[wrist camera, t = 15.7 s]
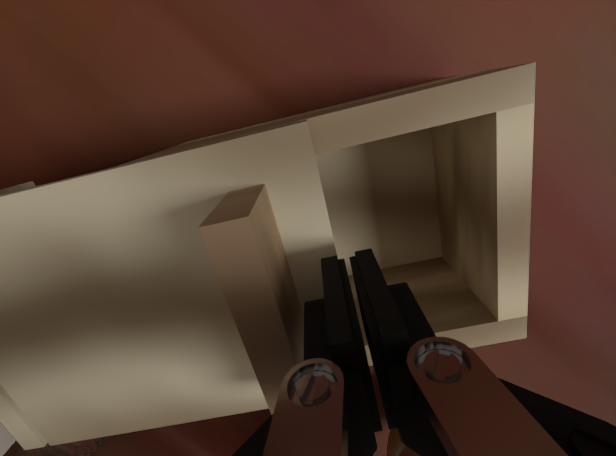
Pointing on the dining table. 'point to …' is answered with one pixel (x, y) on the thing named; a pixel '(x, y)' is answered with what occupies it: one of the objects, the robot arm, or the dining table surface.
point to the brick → (60, 449)
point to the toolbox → (433, 194)
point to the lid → (159, 287)
